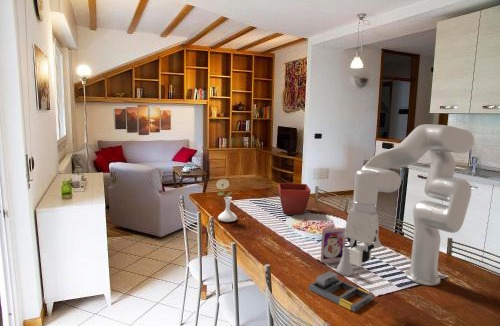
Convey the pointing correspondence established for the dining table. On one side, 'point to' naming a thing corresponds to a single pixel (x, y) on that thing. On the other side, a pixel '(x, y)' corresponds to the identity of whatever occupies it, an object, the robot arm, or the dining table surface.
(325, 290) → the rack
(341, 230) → the greeting card
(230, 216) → the flower in vase
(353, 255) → the white block
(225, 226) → the dining table surface
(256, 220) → the dining table surface
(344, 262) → the flask
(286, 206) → the plant pot
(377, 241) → the robot arm
